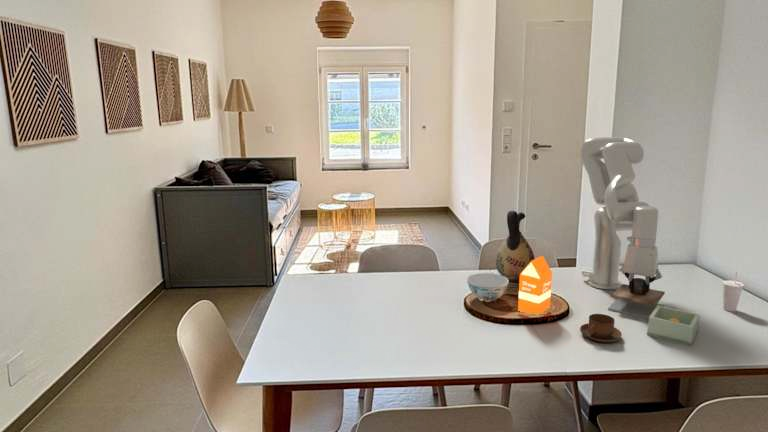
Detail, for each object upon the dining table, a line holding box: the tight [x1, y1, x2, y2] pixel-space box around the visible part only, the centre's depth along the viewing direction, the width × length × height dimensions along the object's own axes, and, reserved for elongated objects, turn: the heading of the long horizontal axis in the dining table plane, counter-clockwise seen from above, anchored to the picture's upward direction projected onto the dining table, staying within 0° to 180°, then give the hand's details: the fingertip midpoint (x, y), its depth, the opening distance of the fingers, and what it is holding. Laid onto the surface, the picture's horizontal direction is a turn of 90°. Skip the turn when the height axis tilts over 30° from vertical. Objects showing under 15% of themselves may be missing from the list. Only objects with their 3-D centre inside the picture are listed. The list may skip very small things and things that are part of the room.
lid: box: [611, 277, 666, 306], centre depth 182 cm, size 14×14×6 cm
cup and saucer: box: [579, 313, 622, 343], centre depth 162 cm, size 12×12×6 cm
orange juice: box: [517, 255, 553, 315], centre depth 179 cm, size 8×9×20 cm
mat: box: [607, 298, 666, 320], centre depth 184 cm, size 15×15×1 cm
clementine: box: [668, 318, 680, 323], centre depth 164 cm, size 4×4×4 cm
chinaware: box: [466, 272, 509, 300], centre depth 193 cm, size 15×15×8 cm
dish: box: [646, 305, 701, 347], centre depth 164 cm, size 12×12×6 cm
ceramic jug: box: [495, 210, 536, 286], centre depth 208 cm, size 17×15×30 cm
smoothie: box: [721, 270, 745, 313], centre depth 181 cm, size 6×6×14 cm
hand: (638, 292), depth 183 cm, fingers closed on lid, 3 cm apart
